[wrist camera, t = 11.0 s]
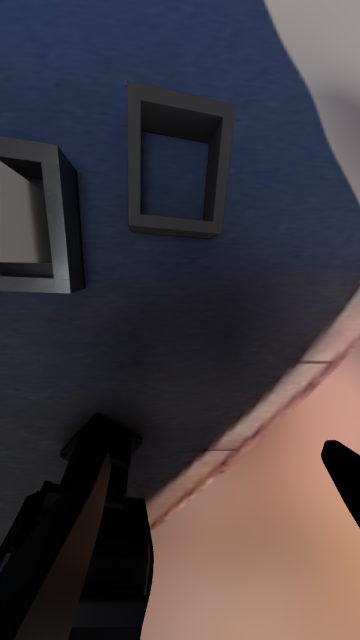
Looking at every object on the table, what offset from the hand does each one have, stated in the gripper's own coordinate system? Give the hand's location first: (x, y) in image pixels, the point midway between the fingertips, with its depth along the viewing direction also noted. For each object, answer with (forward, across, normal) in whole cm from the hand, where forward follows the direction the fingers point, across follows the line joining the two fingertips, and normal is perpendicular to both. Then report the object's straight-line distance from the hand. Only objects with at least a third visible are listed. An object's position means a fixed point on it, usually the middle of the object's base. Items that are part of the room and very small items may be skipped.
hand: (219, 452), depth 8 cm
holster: (+13, +1, -14) cm, 19 cm away
